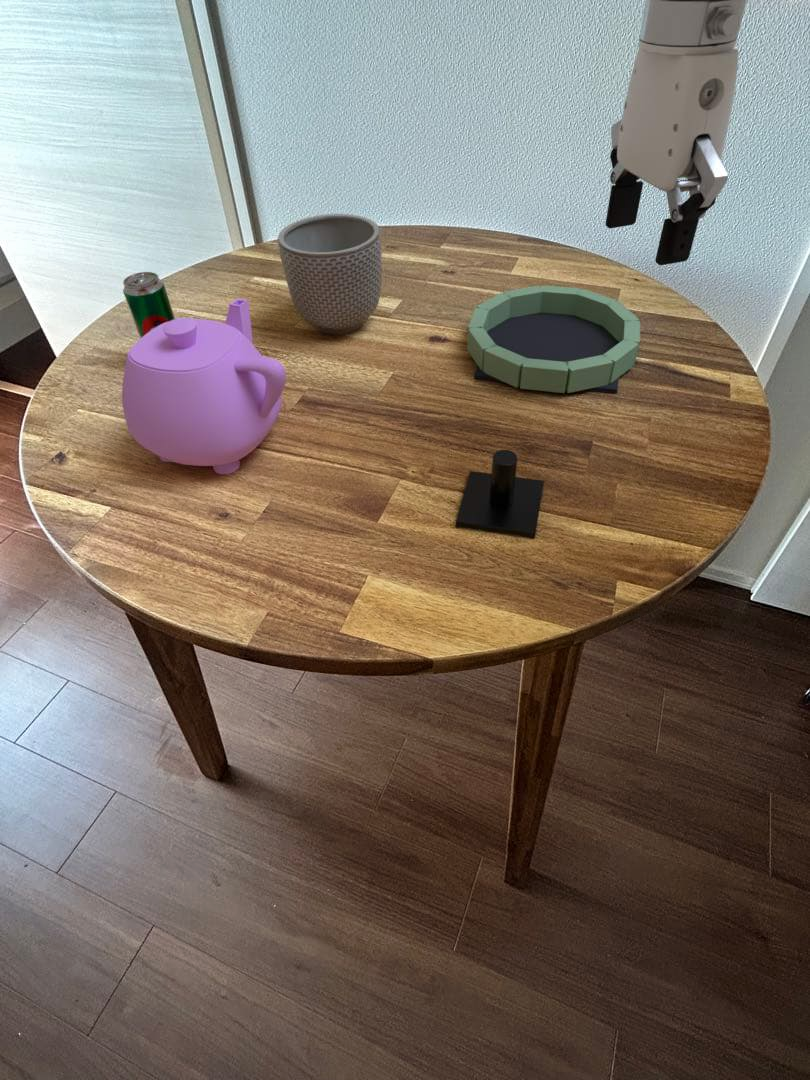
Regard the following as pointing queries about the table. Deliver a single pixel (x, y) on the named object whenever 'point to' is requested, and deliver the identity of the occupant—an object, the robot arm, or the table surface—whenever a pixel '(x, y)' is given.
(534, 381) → the hoop
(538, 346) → the mat
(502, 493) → the post
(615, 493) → the table surface
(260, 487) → the table surface
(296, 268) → the planter
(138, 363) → the teapot
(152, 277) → the soda can
